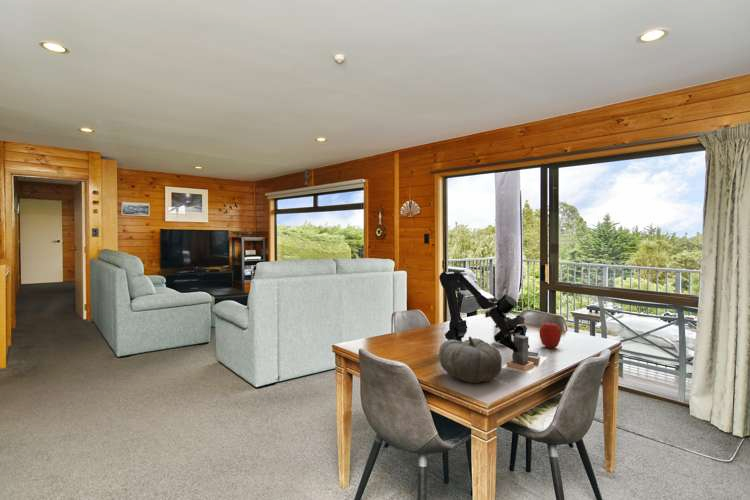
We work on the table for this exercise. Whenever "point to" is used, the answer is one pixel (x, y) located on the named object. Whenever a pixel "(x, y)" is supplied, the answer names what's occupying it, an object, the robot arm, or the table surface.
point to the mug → (496, 333)
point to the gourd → (470, 360)
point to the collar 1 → (520, 367)
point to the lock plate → (531, 359)
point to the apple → (550, 335)
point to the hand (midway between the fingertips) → (523, 349)
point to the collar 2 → (534, 354)
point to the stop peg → (520, 350)
